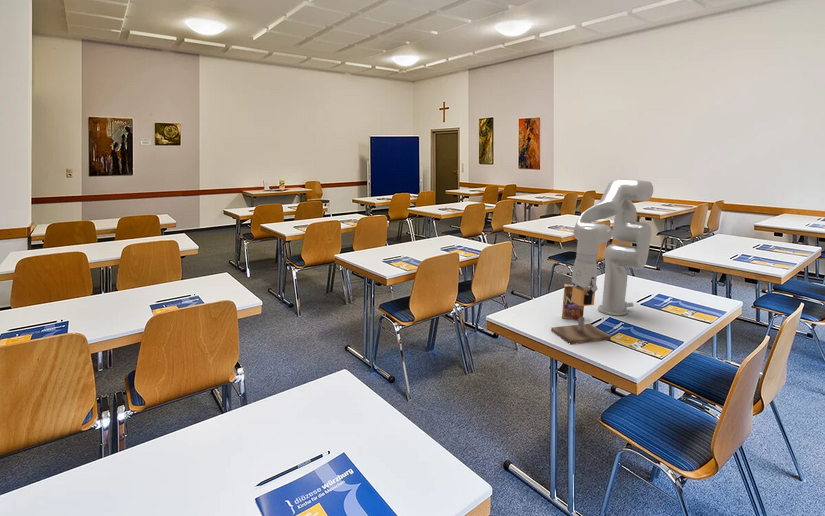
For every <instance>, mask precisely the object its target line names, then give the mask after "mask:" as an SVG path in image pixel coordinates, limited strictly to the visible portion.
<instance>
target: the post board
mask: <svg viewBox="0 0 825 516" xmlns="http://www.w3.org/2000/svg"><path fill="white" fill-rule="evenodd" d="M577 321H578V322H577V324H573V325H564V326H563V325H562V326H553V327H551V329H550V331H551V332H552V333H553V332H554V333H553V334H555V335H556V334H557V335H556V336H558V337H559V336H560V337H561V339H562V340H563V339H564V340H563V341H565V342H566V341H567V342H566V343H567V344H569V343H570V344H569V345H575V344H576V343H578V344H584V343H585V342H586V343H594V342H601V341H602V342H603V341H609V340H610V341H611V338H612V336H611V335H610V334H609V333H607V332H605V331H603V330H602V329H599V328H598V327H596V326H595V325H593V324H592V323H585V317H584V316H583V317H579V320H577ZM560 337H559V338H560Z"/></svg>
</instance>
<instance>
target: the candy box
mask: <svg viewBox="0 0 825 516" xmlns="http://www.w3.org/2000/svg"><path fill="white" fill-rule="evenodd" d="M573 287H574V285H573V283H571V284H569V283H564V287H563V298H562V299H563V301H562V310H561V311H562V313H561V318H562V319H567V320H577V321H578V320H579V317H584V311H585V306H579V305H577V304H575V303H573V302H572V290H573Z"/></svg>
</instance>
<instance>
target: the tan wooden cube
mask: <svg viewBox="0 0 825 516" xmlns="http://www.w3.org/2000/svg"><path fill="white" fill-rule="evenodd" d="M589 290H590V289H588V291H589ZM584 295H586V293H585V288H582V287H573V290H572V302H573V303H575V304H577V305H579V306H584V307H587V306H594V305H595V297H596V296H595V295H596V292H595V293H594V295H592V304H591V305H584Z"/></svg>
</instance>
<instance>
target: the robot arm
mask: <svg viewBox="0 0 825 516" xmlns="http://www.w3.org/2000/svg"><path fill="white" fill-rule="evenodd" d="M653 194H654V185H653V183H652V182H651V181H648V180H641V179H625V178H623V179H621V178H620V179H619V178H617V179H613V180H611V181H609V183H608V185H607V186H606V189H605V190H604V192H603V194H602V196H601V198H600V200H599V201H598V203H596V204H594V205H592V206H591V207H589V208H587V209H585V210H584V211H583V212H581V214H580V215H579V217H578V219H577V221H576V223H575V225H574V227H573V237H574V238H575V239H576V240H577V243H576V244H577V245H576V255H575V256H576V257H575V260H574V263H573V267H572V273H571V274H572V275H571V282H572V285H574V287H582V288H585V293H586V295H584V305H589V306H592V305H591V304H592V295H594V293H595V294H596V291H597V290H598V286H597V277H598V275H597V274H598V267H597V260H598V251H599V249H598V248H599V244H607V243H608V242H609V241H610V240H611V238H612V239H613V240H615V241H617V242H622V243H630V244H631V243H632V244H636V246H635V245H634V246H633V245H628V244H622V243H621V244H619V243H612V244H609V245H608V246H606V248H605V250H604V263H605V265H604V266H605V268H604V281H603V290H602V302H601V304H600V305H599V306H598V308H597V310H598V312H601V313H603V314H605V315H610V316H618V317H619V316H625V315H627V314H628V312H629V311H628V308H631V307H634V303H633V301H632V302H627V301H626V295H627V294H626V293H627V288H628V287H627V286H628V284H627V283H628V272H627V270H626V269H625V267H626V268H632V269H642V268H644V267H646V265H647V261H648V256H649V251H650V245H651V240H652V233H653V231H652V227H651V226H652V225H650V224H649V223H647V222H643V221H636V216H637V207H636V206H635V204H634V202H632V201H635V202H636V201H637V202H648V201H650V200H651V198H652V196H653ZM611 217H614V219H613V226H612V228H611V226H609V225H607V224H603V223H596V221H599V220H603V219H607V218H611ZM588 289H590V290H589V291H588Z"/></svg>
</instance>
